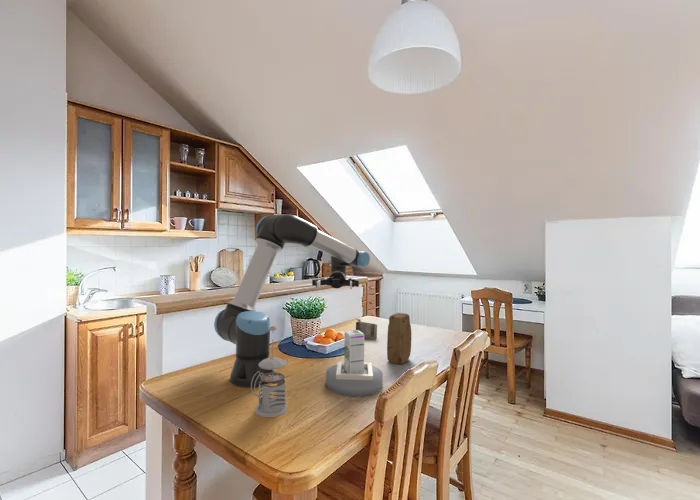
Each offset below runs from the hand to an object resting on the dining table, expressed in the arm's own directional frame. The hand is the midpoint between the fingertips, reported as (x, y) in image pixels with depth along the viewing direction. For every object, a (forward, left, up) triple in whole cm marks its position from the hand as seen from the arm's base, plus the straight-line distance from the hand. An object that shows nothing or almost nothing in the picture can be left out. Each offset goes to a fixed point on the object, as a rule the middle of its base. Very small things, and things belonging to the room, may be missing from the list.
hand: (334, 285), depth 142 cm
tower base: (-2, -22, -32) cm, 39 cm away
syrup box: (-3, -22, -28) cm, 36 cm away
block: (+27, -10, -32) cm, 43 cm away
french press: (-34, -27, -32) cm, 54 cm away
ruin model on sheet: (+33, +26, -33) cm, 53 cm away
